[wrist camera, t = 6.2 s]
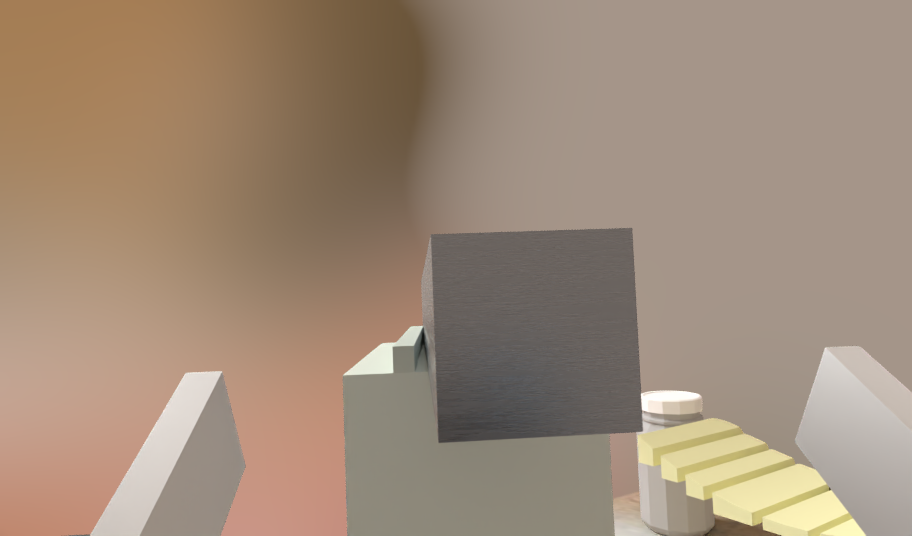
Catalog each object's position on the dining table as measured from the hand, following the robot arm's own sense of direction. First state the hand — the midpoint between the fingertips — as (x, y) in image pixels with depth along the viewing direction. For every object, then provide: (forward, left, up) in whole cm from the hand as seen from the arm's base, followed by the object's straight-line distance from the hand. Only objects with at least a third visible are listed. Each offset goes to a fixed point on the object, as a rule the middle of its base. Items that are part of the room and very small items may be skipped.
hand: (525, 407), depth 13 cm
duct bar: (+7, +11, 0) cm, 13 cm away
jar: (+64, +39, -30) cm, 81 cm away
